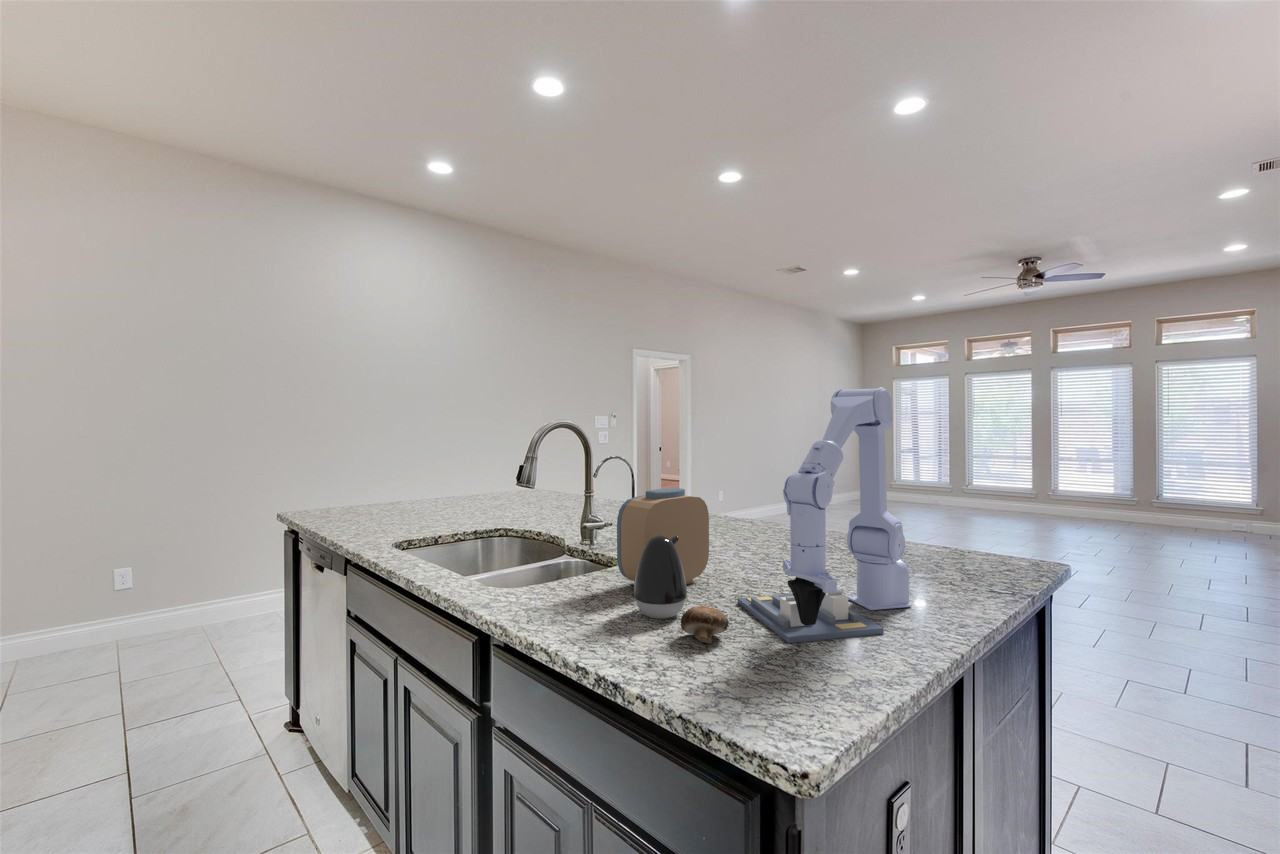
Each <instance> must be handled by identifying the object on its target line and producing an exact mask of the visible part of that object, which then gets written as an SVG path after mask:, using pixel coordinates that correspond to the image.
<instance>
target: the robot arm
mask: <svg viewBox="0 0 1280 854" xmlns="http://www.w3.org/2000/svg"><path fill="white" fill-rule="evenodd" d="M830 414H831V417H830V420H829V422H828V425H827V427H826V430H825V431H824V432H825V433H824V435H823V438H822V439H821V440H818V441H816V442H813V444H812V445H811V447H810V449H809V450H808V453H807V455H806V456H805V458H804V459H803V462H802V463H801V466H800V467H799V469H798V470H797V472H794V473H792V474H790V475H788V476H787V478H786V480H785V481H784V487H783V489H782V495H783V500H784V502H785V504H786V512H787V515H788V516H790V518H789V519H790V520H789V521H790V523H789V525H790V527H789V528H790V530H789V531H790V534H789V535H790V536H789V537H790V538H789V541H790V559H782V571H783V572H784V574H785V576H787V577H794V579H789V580H787V585H788V588H789V589H790V591H791V592H792V593H791V594H793V596H794V598H795V601H796V605H797V609H798V613H799V617H800V621H801V623H802V624H803V625H815V624H816V620H817V616H818V613H819V609H820V606H821V603H822V601H823V599H824V597H825V595H826V593H836V592H837V590H838V587H837V586H838V582H837V580H836V579H834V577H832V575H831V574H830V573H829V571H828V570H827V569H826V567H827V566H826V563H827V562H826V557H827V556H826V552H827V551H826V550H827V549H826V548H827V547H826V545H827V544H826V509H827V507H828V506H829V505H830V503H831V502H832V499H833V493H834V492H833V490H834V486H835V481H834V479H835V476H836V473H837V472H838V470H839V468H840V466H841V464H842V462H843V459H844V453H843V451H842V448H843V447H844V445H845V443H846V442H847V440H848V439H849V437H850V436H851V434H852V433H853V431H854V432H855V433H856V435H857V436H858V458H859V459H858V460H859V461H858V463H859V465H858V466H859V495H860V496H859V497H860V498H859V499H860V500H859V501H860V502H859V503H860V510H859V511H860V512H858V513H856V514H855V515H854V516H852V518H851V519H850V520H849V523H848V532H847V536H846V545H847V548H848V550H849V552H850V553H851V555H853V559H856V595H848V596H847V597H848V600H850V601H852V602H854V603H855V604H857V605H860V606H861V607H862V608H865V609H867V610H869V611H878V610H890V609H900V608H901V609H902V608H911V607H912V603H910V573H909V569H908V567H907V564H906V563H905V562H904V561H903V560H902V557H903V556H904V553H905V549H906V538H905V535H904V531H903V525H902V521H901V520H899V519H898V518H896V517H895V516H894V515H892V514H891V513H890V512H889V511H888V509H887V508H888V506H887V504H888V501H887V498H888V497H887V467H886V466H887V461H886V431H888V430H890V429H892V427H893V400H892V397H891V394H890V393H889V392H888V390H887V389H886V388H885V387H883V386H882V387H881V386H880V387H878V388H859V389H858V388H857V389H837V390H835V391H834V393H833V395H831V400H830Z"/></svg>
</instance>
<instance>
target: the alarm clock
mask: <svg viewBox="0 0 1280 854" xmlns="http://www.w3.org/2000/svg"><path fill="white" fill-rule="evenodd" d="M655 536H665V537H667V538H669V539H670V540H671V539H672V538H673V537H675V536H677V537H678V538H679V540H678V541H677V543H676V544H675V545H674V546H675V547H676V549H677V552H678V554H679V557H680V560H681V563H682V567H683V570H684V575H685V581H686V585H690V584H693V582H694V579H696V578H697V577H699V576H701V575H702V573H703V572H704V571H705V570H706V567H707V565H708V562H709V557H710V556H709V555H710V516H709V509H708V505H707V503H706V502H705V500H704V499H703V498H702V497H699V496H693V495H691V496H690V495H686V490H685V489H684V488H679V487H670V488H669V487H668V488H658V489H657V488H655V489H652V490H651V489H650V490H647V491H645V495H638V496H634V497H632V498H629V499H627V500H626V501H624V502H623V503H622V505H621V507H620V509H619V510H618V514H617V518H616V559H617V566H618V570H619V572H620V574H621V575H622V577H624V578H626V579H627V580H629V581H632V582H633V584H634V585H635V578H636V572H637V568H638V564H639V561H640V558H641V555H642V552H643V550H644V548H645V546H646V544H647V542H648V541H649V540H650V539H651V538H653V537H655ZM634 585H633V586H634Z"/></svg>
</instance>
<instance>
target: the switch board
mask: <svg viewBox="0 0 1280 854" xmlns="http://www.w3.org/2000/svg"><path fill="white" fill-rule="evenodd" d="M787 596H793V593H787V594H774V595H760V596H748V597H737V604H738V605H739V606H741V607H742V608H743V609H744V610H745V611H747V612H748V613H750V614H751V615H752V616H753V617H755V619H757V620H758V621H759V622H761V623H762V624H763V625H764V626H767V627H768V629H770V630H771V631H772V632H773V633H775V634H776V635H778V637H780V638H782V640H783V641H785V642H786V643H788V644H791V643H792V644H793V643H803V642H812V641H813V642H815V641H823V640H834V639H845V638H854V637H864V636H865V637H866V636H873V635H874V636H877V635H884V627H882V626H881V625H879V624H877V623H876V622H874V621H872V620H870V619H867V618H865V617H864V616H862V615H861V614H858V613H857V612H855V611H853V610H851V609H850V608H848V619H845V620H836V617H835V616H833V615H832V614H830V613H828V612H827V611H825V610H823V609H822V603H821V606H820V609H819V613H818V616H817V620H816V624H815V625H806V626H796V627H790V626H789V620H787V619H786V618H784V617H783V616H782V615H780V597H787Z"/></svg>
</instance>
